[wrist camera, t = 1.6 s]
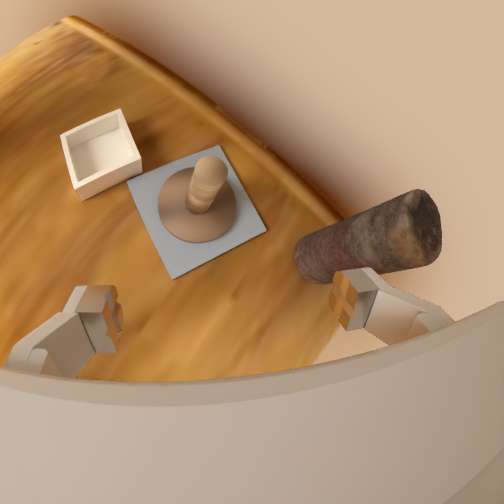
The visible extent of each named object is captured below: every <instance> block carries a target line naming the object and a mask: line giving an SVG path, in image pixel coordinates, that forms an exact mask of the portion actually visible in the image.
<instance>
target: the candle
mask: <svg viewBox="0 0 504 504" xmlns="http://www.w3.org/2000/svg"><path fill="white" fill-rule="evenodd" d="M441 246H442V230H441V221H440V214H439V211H438V208H437V206H436V204H435V203H434V201H433V200H432V198H431V197H430V196H429V194H428V193H426V192H425V191H424V190H419V189H416V190H412V191H410V192H407V193H405V194H403V195H400V196H398V197H395V198H393V199H391V200H389V201H386V202H384V203H382V204H380V205H378V206H375V207H373V208H371V209H368V210H366V211H364V212H362V213H359V214H356V215H354V216H352V217H350V218H347V219H345V220H343V221H340V222H338V223H335V224H333V225H331V226H328V227H326V228H323V229H321V230H319V231H316V232H314V233H312V234H309V235H307V236H305V237H303V238H302V239H301V240H300V241H299V242H298V244H297V245H296V247H295V251H294V255H295V261H296V265H297V269H298V271H299V272H300V274H301V275H302V277H304V278H305V279H307V280H308V281H310V282H313V283H317V284H327V283H333V277H334V274H335V272H336V271H342V270H350V269H358V268H364V267H370V268H372V269H373V270H374V271H375V272H376V273H377V274H378V275H380V274H385V273H391V272H396V271H402V270H407V269H412V268H418V267H422V266H427V265H429V264H431V263H432V262H434V261H435V260H436V259H437V258H438V256H439V254H440V252H441Z"/></svg>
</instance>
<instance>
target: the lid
mask: <svg viewBox="0 0 504 504" xmlns="http://www.w3.org/2000/svg"><path fill="white" fill-rule="evenodd" d="M227 176H228V168H227V165H226V164H225V162H224V161H223V160H222V159H220V158H218V157H216V156H205V157H203V158H201V159H200V160H199V161H198V162H197V163H196V166H195V167H189V168H185V169H182V170H179V171H177V172H176V173H174V174H172V175H171V176H170V177H169V178H168V179H167V180H166V181H165V183H164V184H163V186H162V188H161V190H160V193H159V197H158V213H159V217H160V219H161V222H162V223H163V225H164V227H165V228H166V229H167V230H168V231H169V232H170V233H171V234H172V235H173V236H175V237H176V238H178V239H180V240H182V241H185V242H189V243H206V242H209V241H212V240H214V239H216V238H218V237H219V236H221V235H222V234H223V233H224V232H225V231H226V230H227V229H228V228H229V226H230V225H231V223H232V222H233V220H234V217H235V213H236V198H235V194H234V192H233V189H232V187H231V186H230V184H229V183H228V182H227V181H226V178H227Z"/></svg>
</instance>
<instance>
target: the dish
mask: <svg viewBox="0 0 504 504" xmlns="http://www.w3.org/2000/svg"><path fill="white" fill-rule="evenodd" d="M60 137H61V142H62V146H63V150H64V154H65V158H66V162H67V166H68V169H69V173H70V177H71V180H72V183H73V187H74V190H75V191H76V193H77V194H78V196H79V197H80V199H81V200H82V201H84V200H86V199H88V198H90V197H92V196H94V195H96V194H98V193H100V192H102V191H104V190H106V189H108V188H110V187H112V186H114V185H116V184H119V183H121V182H123V181H125V180H127V179H130V178H132V177H134V176H136V175H139V174H141V173H142V160H141V156H140V154H139V152H138V149H137V147H136V145H135V142H134V140H133V138H132V135H131V133H130V130H129V128H128V126H127V123H126V121H125V118H124V116H123V113H122V111H121V108H120V109H117V110H115V111H112V112H110V113H107V114H105V115H102V116H100V117H98V118H95V119H93V120H91V121H88V122H86V123H84V124H82V125H80V126H77V127H75V128H73V129H71V130H69V131H67V132H65V133H63V134H61V135H60Z"/></svg>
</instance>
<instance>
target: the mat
mask: <svg viewBox="0 0 504 504" xmlns="http://www.w3.org/2000/svg"><path fill="white" fill-rule="evenodd" d="M205 156H216V157H218V158H220V159H222V160H223V161H224V162H225V164H226V165H227V168H228V176H227V178H226V181H227V182H228V183H229V184H230V186H231V187H232V189H233V192H234V194H235V198H236V213H235V217H234V220H233V222H232V223H231V225H230V226H229V228H228V229H227V230H226V231H225V232H224V233H223V234H222V235H221V236H219V237H218V238H216V239H214V240H212V241H209V242H206V243H189V242H185V241H182V240H180V239H178V238H176V237H175V236H173V235H172V234H171V233H170V232H169V231H168V230H167V229H166V228H165V227H164V225H163V223H162V222H161V219H160V217H159V213H158V197H159V193H160V190H161V188H162V186H163V184H164V183H165V181H166V180H167V179H168V178H169V177H170V176H171V175H172V174H174V173H176V172H177V171H179V170H182V169H185V168H189V167H195V166H196V163H197V162H198V161H199V160H200V159H201V158H203V157H205ZM126 182H127V185H128V188H129V190H130V192H131V195H132V197H133V199H134V202H135V204H136V206H137V208H138V211H139V213H140V215H141V217H142V219H143V222H144V224H145V226H146V228H147V230H148V232H149V234H150V237H151V239H152V241H153V243H154V245H155V247H156V249H157V251H158V253H159V255H160V257H161V259H162V261H163V263H164V265H165V267H166V269H167V271H168V273H169V275H170V277H171V278H172V280H173V279H175V278H177V277H179V276H181V275H183V274H185V273H186V272H188V271H190V270H192V269H194V268H196V267H198V266H200V265H202V264H204V263H205V262H207V261H209V260H211V259H213V258H215V257H217V256H219V255H221V254H223V253H225V252H226V251H228V250H230V249H232V248H234V247H236V246H238V245H240V244H242V243H244V242H246V241H248V240H249V239H251V238H253V237H255V236H257V235H259V234H261V233H263V232H265V231H267V230H266V228H265V226H264V224H263V222H262V220H261V219H260V217H259V215H258V213H257V211H256V209H255V208H254V206H253V204H252V202H251V200H250V199H249V197H248V195H247V193H246V191H245V190H244V188H243V186H242V184H241V183H240V181H239V179H238V177H237V175H236V174H235V172H234V170H233V168H232V167H231V165H230V163H229V161H228V160H227V158H226V156H225V154H224V153H223V151H222V149H221V147H220V146H219V145H218V146H215V147H212V148H209V149H206V150H203V151H201V152H198V153H195V154H192V155H190V156H187V157H184V158H181V159H179V160H176V161H174V162H171V163H169V164H166V165H164V166H161V167H159V168H156V169H154V170H151V171H149V172H147V173H144V174H142V175H140V176H137V177H135V178H133V179H131V180H129V181H126Z"/></svg>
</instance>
